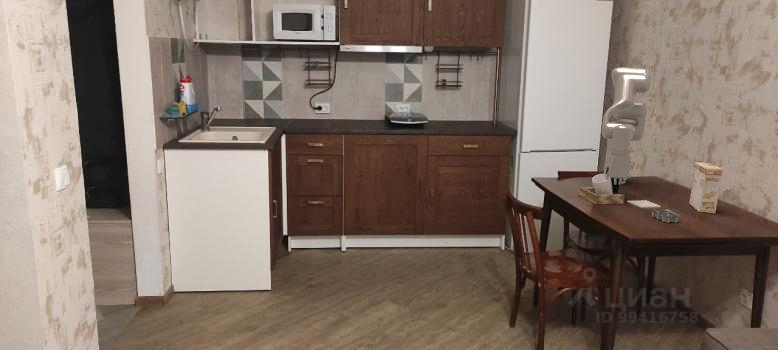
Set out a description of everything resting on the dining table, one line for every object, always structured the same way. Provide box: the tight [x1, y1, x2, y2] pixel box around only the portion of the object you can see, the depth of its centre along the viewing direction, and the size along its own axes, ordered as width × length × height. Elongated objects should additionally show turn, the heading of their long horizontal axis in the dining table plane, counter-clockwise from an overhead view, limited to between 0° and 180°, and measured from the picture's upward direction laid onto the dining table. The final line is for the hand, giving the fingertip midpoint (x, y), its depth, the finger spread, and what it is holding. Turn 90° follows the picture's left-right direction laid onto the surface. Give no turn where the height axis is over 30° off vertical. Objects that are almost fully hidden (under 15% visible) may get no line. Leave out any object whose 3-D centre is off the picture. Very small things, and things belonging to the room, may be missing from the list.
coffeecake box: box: [689, 161, 724, 214], centre depth 263 cm, size 15×7×20 cm, turn 168°
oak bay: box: [578, 186, 625, 205], centre depth 272 cm, size 14×14×4 cm
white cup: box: [591, 173, 614, 195], centre depth 270 cm, size 8×8×10 cm
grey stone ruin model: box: [650, 207, 681, 224], centre depth 245 cm, size 11×8×4 cm
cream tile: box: [626, 199, 662, 209], centre depth 266 cm, size 10×10×1 cm
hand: (614, 192), depth 272 cm, fingers closed
